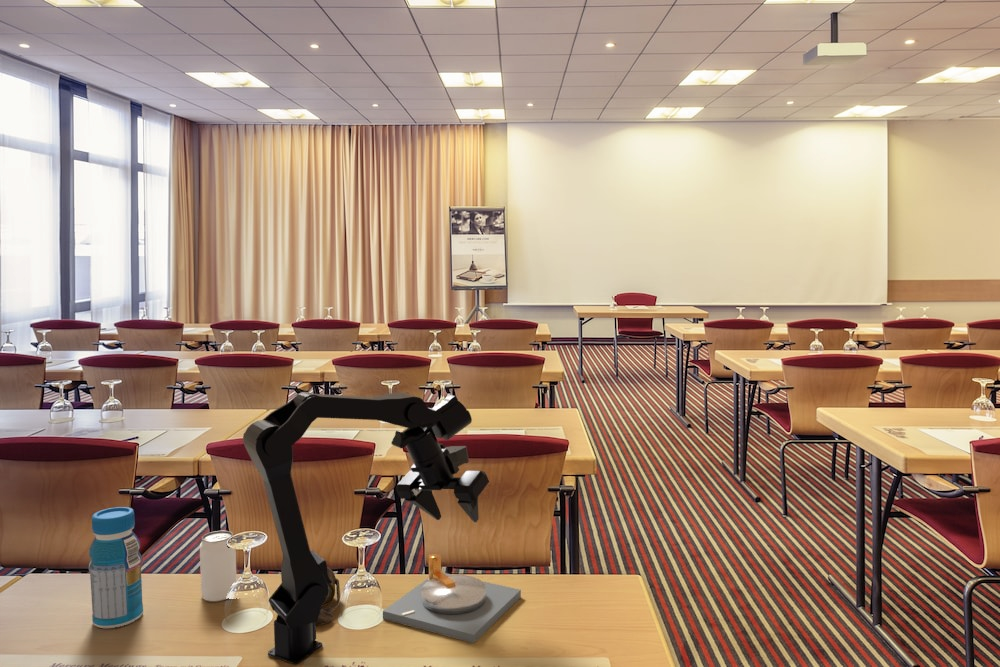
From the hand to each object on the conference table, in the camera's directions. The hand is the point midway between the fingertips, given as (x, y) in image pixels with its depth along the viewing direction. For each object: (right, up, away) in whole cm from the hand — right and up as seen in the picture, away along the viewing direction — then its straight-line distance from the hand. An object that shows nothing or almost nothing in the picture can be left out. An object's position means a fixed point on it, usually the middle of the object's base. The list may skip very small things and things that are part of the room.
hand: (457, 519), depth 134 cm
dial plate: (-1, -16, -3) cm, 16 cm away
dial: (-1, -14, -2) cm, 14 cm away
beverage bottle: (-62, -17, -7) cm, 64 cm away
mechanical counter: (-27, -16, -4) cm, 31 cm away
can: (-47, -16, +3) cm, 50 cm away
